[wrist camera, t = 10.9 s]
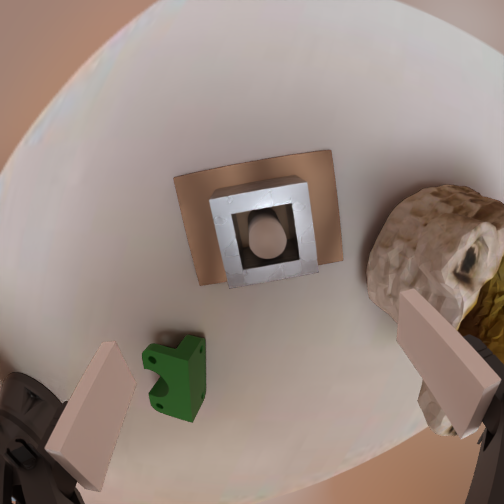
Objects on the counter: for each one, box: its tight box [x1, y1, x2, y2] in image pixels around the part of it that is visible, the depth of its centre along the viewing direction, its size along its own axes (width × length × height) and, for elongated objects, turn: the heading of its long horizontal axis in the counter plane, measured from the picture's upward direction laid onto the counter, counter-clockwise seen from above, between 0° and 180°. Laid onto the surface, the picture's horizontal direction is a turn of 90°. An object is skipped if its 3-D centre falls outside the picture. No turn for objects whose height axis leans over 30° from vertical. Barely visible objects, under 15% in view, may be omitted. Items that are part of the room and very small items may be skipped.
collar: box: [209, 175, 319, 289], centre depth 29 cm, size 8×8×6 cm
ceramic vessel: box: [366, 184, 504, 436], centre depth 24 cm, size 23×24×25 cm
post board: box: [173, 150, 343, 286], centre depth 29 cm, size 16×12×8 cm
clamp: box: [142, 335, 206, 423], centre depth 36 cm, size 12×6×9 cm, turn 169°
